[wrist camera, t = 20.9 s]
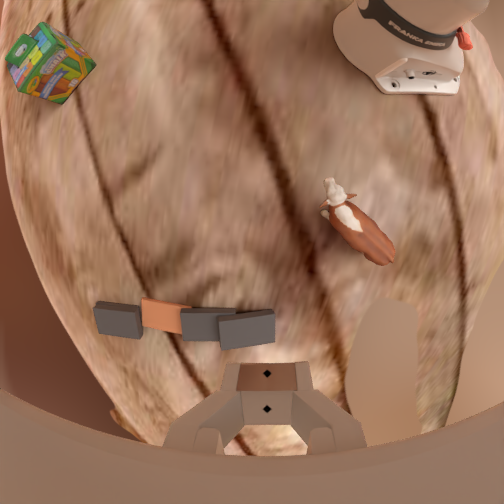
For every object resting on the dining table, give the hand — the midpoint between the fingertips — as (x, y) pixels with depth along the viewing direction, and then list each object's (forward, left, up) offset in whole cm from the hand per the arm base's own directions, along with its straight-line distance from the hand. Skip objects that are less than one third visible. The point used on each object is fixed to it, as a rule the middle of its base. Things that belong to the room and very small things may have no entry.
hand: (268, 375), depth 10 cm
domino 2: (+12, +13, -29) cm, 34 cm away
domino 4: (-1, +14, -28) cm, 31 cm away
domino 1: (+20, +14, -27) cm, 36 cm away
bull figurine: (-11, -2, -29) cm, 31 cm away
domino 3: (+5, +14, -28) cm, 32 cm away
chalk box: (+32, -30, -29) cm, 53 cm away
